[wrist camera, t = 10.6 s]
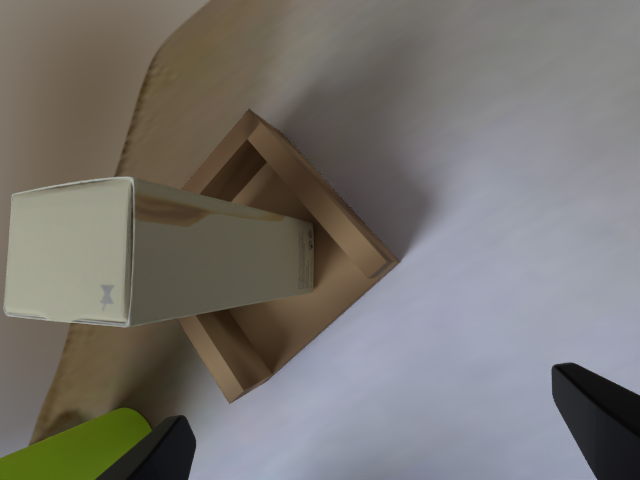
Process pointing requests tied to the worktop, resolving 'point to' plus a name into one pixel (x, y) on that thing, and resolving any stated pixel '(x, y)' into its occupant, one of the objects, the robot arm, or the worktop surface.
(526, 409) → the worktop surface
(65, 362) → the worktop surface
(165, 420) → the robot arm
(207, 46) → the worktop surface
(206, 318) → the u rest
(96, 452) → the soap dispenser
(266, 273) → the skincare box
